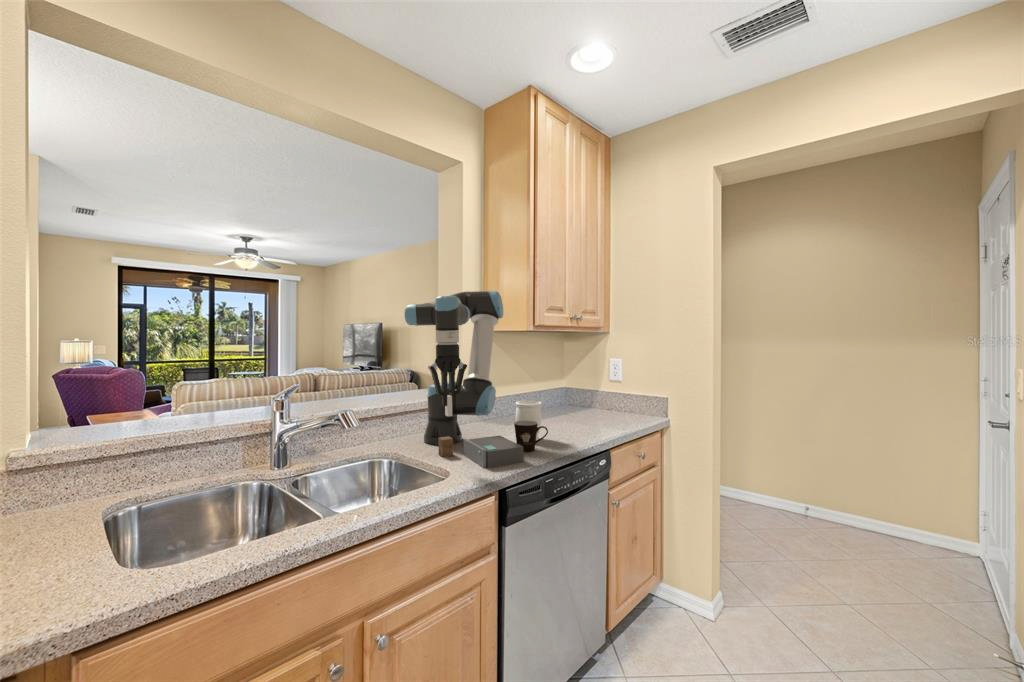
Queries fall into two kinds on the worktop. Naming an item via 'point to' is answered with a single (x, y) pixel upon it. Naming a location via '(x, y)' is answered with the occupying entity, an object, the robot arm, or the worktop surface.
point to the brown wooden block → (445, 446)
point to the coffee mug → (527, 434)
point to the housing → (500, 450)
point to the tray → (475, 453)
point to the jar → (529, 412)
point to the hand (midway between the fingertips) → (448, 415)
